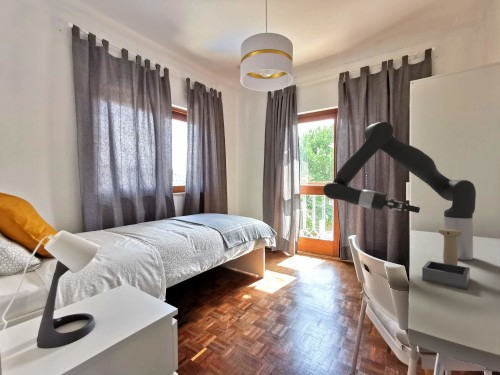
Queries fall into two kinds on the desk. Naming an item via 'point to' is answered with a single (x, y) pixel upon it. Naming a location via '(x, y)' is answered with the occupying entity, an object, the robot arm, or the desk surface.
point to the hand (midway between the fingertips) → (418, 210)
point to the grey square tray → (446, 274)
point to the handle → (450, 245)
